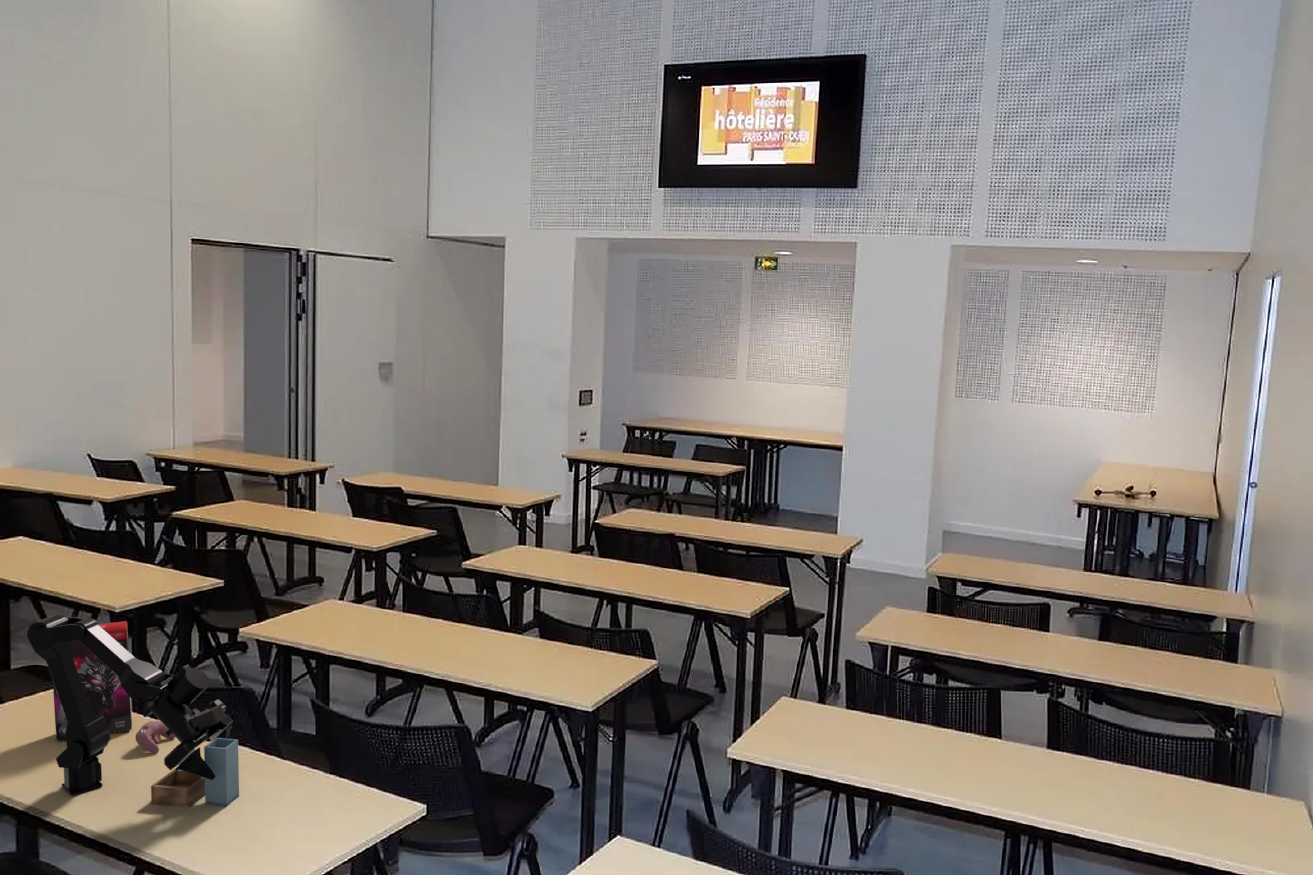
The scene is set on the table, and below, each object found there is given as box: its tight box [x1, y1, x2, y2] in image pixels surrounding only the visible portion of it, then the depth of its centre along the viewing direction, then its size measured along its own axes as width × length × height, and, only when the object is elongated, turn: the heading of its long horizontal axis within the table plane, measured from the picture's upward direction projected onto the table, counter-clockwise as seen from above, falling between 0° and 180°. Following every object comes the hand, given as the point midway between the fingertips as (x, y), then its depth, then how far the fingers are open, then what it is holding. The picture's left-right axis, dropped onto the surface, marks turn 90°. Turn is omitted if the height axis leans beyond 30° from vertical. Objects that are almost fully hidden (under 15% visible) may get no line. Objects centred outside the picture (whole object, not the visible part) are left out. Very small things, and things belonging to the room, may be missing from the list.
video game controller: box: [135, 719, 176, 754], centre depth 255 cm, size 10×5×7 cm, turn 179°
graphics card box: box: [52, 620, 133, 742], centre depth 261 cm, size 17×7×27 cm, turn 117°
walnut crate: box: [150, 768, 205, 808], centre depth 229 cm, size 9×9×4 cm
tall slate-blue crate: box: [203, 738, 240, 807], centre depth 228 cm, size 5×5×13 cm
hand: (225, 769), depth 228 cm, fingers open, 9 cm apart
